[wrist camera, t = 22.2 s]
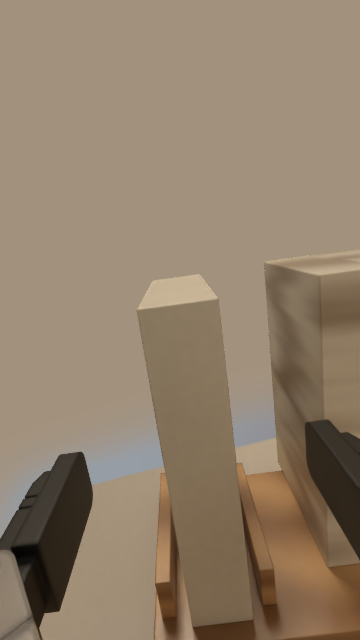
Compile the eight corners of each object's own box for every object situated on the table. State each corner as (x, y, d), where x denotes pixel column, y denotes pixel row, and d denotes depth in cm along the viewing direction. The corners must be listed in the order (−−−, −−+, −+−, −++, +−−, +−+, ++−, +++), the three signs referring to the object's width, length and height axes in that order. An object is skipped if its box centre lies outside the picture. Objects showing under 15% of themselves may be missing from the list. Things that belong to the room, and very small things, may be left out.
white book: (253, 620, 16) (218, 298, 12) (192, 628, 16) (136, 309, 12) (226, 487, 25) (200, 273, 21) (186, 493, 25) (152, 280, 21)
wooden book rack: (500, 628, 15) (557, 255, 11) (156, 669, 16) (77, 322, 11) (359, 461, 27) (360, 248, 23) (163, 486, 27) (126, 281, 23)
